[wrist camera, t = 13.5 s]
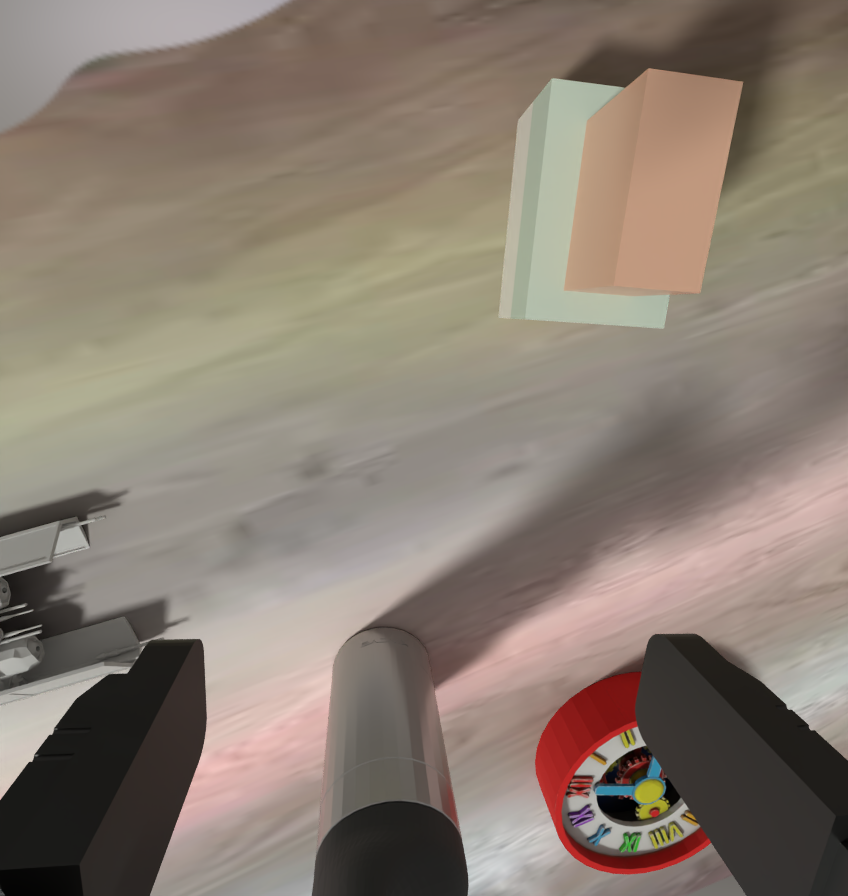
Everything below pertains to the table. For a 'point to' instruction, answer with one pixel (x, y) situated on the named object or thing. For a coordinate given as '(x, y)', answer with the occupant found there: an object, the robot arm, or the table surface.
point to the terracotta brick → (651, 185)
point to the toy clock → (612, 785)
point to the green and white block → (557, 216)
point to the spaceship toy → (66, 655)
